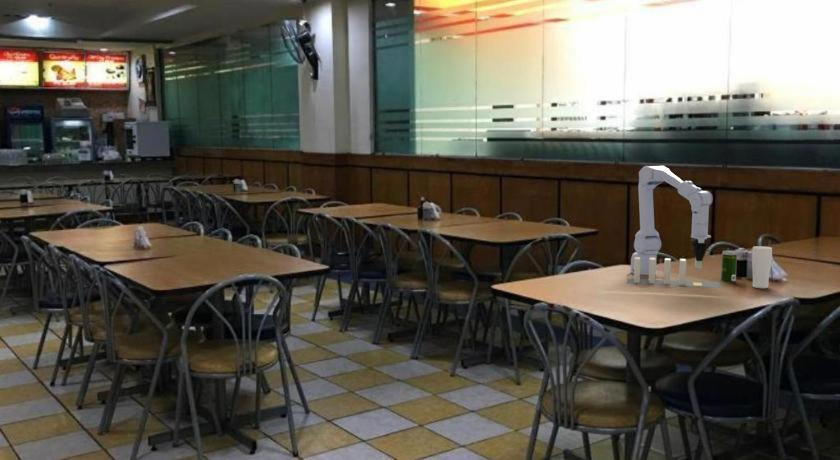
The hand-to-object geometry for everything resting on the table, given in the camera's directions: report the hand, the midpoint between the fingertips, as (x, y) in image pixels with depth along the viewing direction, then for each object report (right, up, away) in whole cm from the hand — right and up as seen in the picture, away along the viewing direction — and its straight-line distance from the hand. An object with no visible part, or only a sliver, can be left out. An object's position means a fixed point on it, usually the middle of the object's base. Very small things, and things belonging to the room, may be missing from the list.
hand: (698, 259), depth 304 cm
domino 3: (-11, -9, +3) cm, 14 cm away
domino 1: (-21, -9, +6) cm, 24 cm away
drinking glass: (+23, -10, -1) cm, 25 cm away
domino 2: (-16, -9, +5) cm, 19 cm away
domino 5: (0, -3, 0) cm, 3 cm away
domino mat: (-9, -10, +3) cm, 13 cm away
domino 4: (-5, -9, +2) cm, 11 cm away
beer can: (+15, -9, +9) cm, 19 cm away
